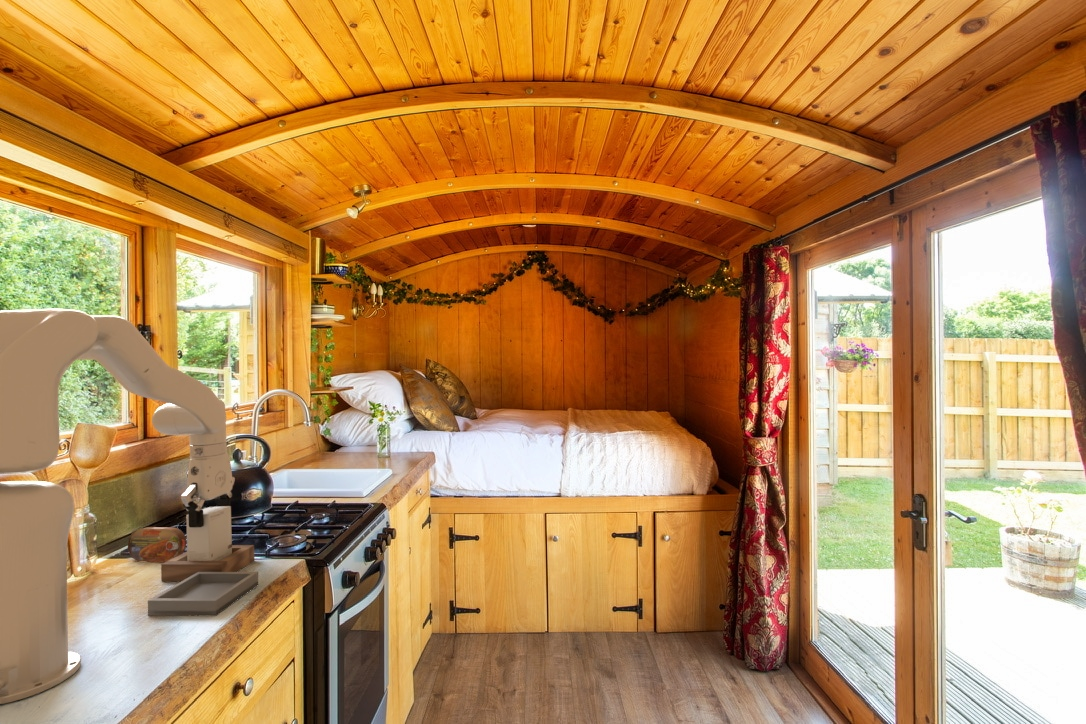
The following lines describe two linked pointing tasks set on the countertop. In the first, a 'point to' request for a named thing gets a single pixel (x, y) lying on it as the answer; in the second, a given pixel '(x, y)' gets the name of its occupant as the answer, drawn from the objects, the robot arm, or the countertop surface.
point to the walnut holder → (207, 564)
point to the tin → (156, 544)
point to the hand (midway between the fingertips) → (210, 520)
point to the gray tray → (202, 594)
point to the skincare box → (210, 535)
